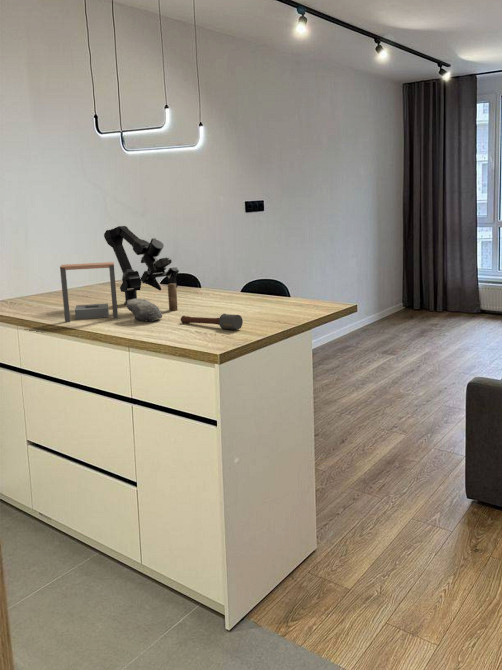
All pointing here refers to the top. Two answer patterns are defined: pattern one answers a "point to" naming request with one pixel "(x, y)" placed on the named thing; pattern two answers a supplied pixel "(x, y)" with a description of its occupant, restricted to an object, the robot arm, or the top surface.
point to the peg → (172, 297)
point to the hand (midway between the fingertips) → (168, 288)
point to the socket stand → (90, 309)
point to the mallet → (217, 321)
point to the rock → (144, 310)
